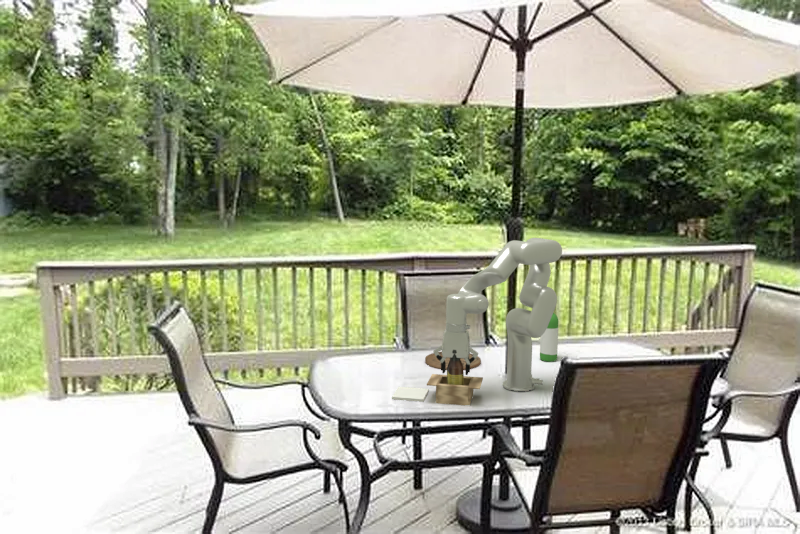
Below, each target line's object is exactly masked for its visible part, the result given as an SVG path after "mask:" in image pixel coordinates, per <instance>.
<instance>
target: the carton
mask: <svg viewBox="0 0 800 534" xmlns="http://www.w3.org/2000/svg"><path fill="white" fill-rule="evenodd" d="M483 379H484V377H481V376H468V375H466V376H465V375H464V385H452V384H447V374H437V373H436V374H435V373H432V374H431V376H430V377H429V379H428V381H427V383H426V386H428V387H429V386H430V387H432V386H433V387H435V404H439V405H440V404H442V405H453V406H465V405H470V406H471V404H472V401H473V398H472V397H474V392H475V391H474V390H481V387H482V384H483ZM471 400H472V401H471Z"/></svg>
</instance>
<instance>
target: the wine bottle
mask: <svg viewBox="0 0 800 534" xmlns="http://www.w3.org/2000/svg"><path fill="white" fill-rule="evenodd" d="M554 312H555V311H554ZM554 312H553V315H552V317H551V320H550V322H549V324H548V327H547V329H546V331H545V332H544V334H543V335H542V336H540V337H539V338H540V339H539V359H540V360H541V361H544V362H550V363H551V362H556V361H557V360H558V350H559V349H558V346H559V341H558V340H559V318H558V316H557V314H556V313H554Z"/></svg>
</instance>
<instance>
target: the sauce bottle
mask: <svg viewBox="0 0 800 534" xmlns="http://www.w3.org/2000/svg"><path fill="white" fill-rule="evenodd" d="M452 353H453V354H454V355H453V357H452V358H450V361H449V364H448V367H447V370H446V375H447V384H452V385H464V376H465V374H464V373H465V372H464V370H463V364H462V362H461V361H460V358H457V357H456V355H455V354H456V353H457V351H456V350H453V352H452Z"/></svg>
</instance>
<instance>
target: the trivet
mask: <svg viewBox="0 0 800 534" xmlns="http://www.w3.org/2000/svg"><path fill="white" fill-rule="evenodd" d="M438 353H439V355H440V356H441V357H443V356H442V351H439V352H438ZM468 357H469V358H471V357H473V354H472V353H470V354H469V356H468ZM449 361H450V358H446V359H445V362H446V370H445V371H447V367H448V364H449ZM460 361H461V362H462V364H463V371H466V361H465V360H464V359H462V358H460ZM424 363H425V364H426V365H427V366H428V365H429V366H428V367H430V368H433V369H437V370H441V362H440V361H439V360H438V359H437V357H436V356H435V354H434V353H433V352H431V353H429V354H428V355H426V356H425V359H424ZM481 364H482V360H481V357H480V356H479V355H478V356H477V357H476V358H475V360H474V361H473V362H472V363H471V364H470V370H472V369H476V368H478V367H479V365H480V366H481Z"/></svg>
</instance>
